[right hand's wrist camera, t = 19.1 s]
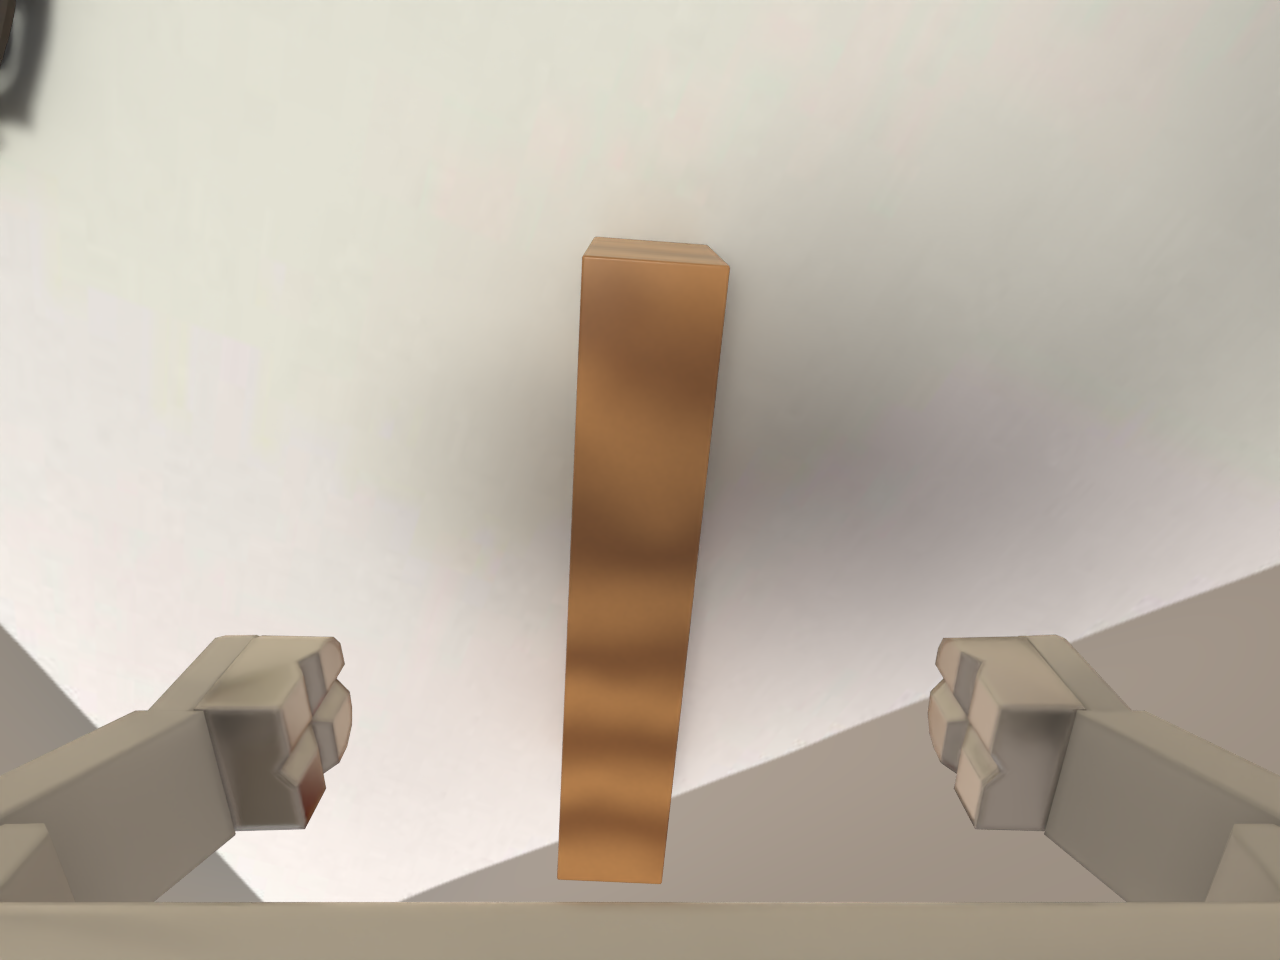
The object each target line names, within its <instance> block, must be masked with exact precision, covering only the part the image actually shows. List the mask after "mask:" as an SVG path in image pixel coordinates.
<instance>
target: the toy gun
mask: <svg viewBox="0 0 1280 960" xmlns="http://www.w3.org/2000/svg"><path fill="white" fill-rule="evenodd" d="M15 4H16V0H0V66H1V62H2V59H3V55H4V52H5V48H6V45H7V42H8V38H9V35H10V30H11V26H12V22H13V16H14V11H15Z"/></svg>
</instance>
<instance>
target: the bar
mask: <svg viewBox="0 0 1280 960" xmlns="http://www.w3.org/2000/svg"><path fill="white" fill-rule="evenodd" d="M729 271H730V267H729V265H728V264H726V263H725V262H724V261H723V260H722V259H721V258H720V257H719V256H718V255H717V254H716V253H715V252H714V251H713V250H712V249H711V248H710V247H709V246H707V245H700V244H687V243H673V242H659V241H646V240H632V239H618V238H604V237H595V238H594V239H593V241H592V242H591V244H590V245H589V247H588V249H587V250H586V252H585V253H584V255H583V257H582V276H581V301H580V326H579V351H578V375H577V400H576V425H575V450H574V475H573V499H572V524H571V549H570V574H569V598H568V623H567V648H566V673H565V698H564V722H563V747H562V772H561V797H560V822H559V846H558V871H557V878H558V879H559V880H581V881H603V882H626V883H648V884H661V883H662V875H663V866H664V857H665V848H666V839H667V830H668V821H669V812H670V803H671V794H672V785H673V776H674V767H675V758H676V749H677V740H678V731H679V722H680V713H681V704H682V695H683V686H684V677H685V668H686V659H687V650H688V641H689V632H690V623H691V614H692V605H693V596H694V587H695V578H696V569H697V560H698V551H699V542H700V533H701V524H702V515H703V506H704V497H705V488H706V479H707V470H708V461H709V452H710V443H711V434H712V425H713V416H714V407H715V398H716V389H717V380H718V371H719V362H720V353H721V344H722V335H723V326H724V317H725V308H726V298H727V289H728V280H729Z"/></svg>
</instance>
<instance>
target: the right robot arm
mask: <svg viewBox="0 0 1280 960" xmlns="http://www.w3.org/2000/svg"><path fill="white" fill-rule="evenodd" d="M344 665H345V663H344V658H343V653H342V649H341V644H340V642H338V641H337V640H336V639H335V638H334V637H316V636H267V635H262V636H258V635H225V636H221V637H217V638H215V639H214V640H213V641H212V642H211V643H210V644H209V645H208V646H207V647H206V649H205V650H204V651H203V652H202V653H201V654H200V655H199V656H198V657H197V658H196V659H195V660H194V661H193V663H192V664H191V665H190V666H189V667H188V668H187V669H186V670H185V671H184V672H183V673H182V674H181V675H180V677H179V678H178V679H177V680H176V681H175V682H174V683H173V684H172V685H171V686H170V687H169V688H168V689H167V690H166V692H165V693H164V694H163V695H162V696H161V697H160V698H159V699H158V700H157V701H156V702H155V703H154V704H153V706H152V707H151V708H150V709H149V710H148V711H134V712H132V713H129V714H127V715H125V716H123V717H121V718H119V719H117V720H115V721H113V722H111V723H109V724H107V725H104V726H102V727H100V728H98V729H96V730H94V731H92V732H90V733H88V734H86V735H84V736H82V737H79V738H77V739H75V740H73V741H71V742H69V743H67V744H65V745H63V746H61V747H59V748H57V749H55V750H52V751H50V752H48V753H46V754H44V755H42V756H40V757H38V758H36V759H34V760H32V761H29V762H27V763H25V764H23V765H21V766H19V767H17V768H15V769H13V770H11V771H9V772H7V773H4V774H2V775H0V960H1280V776H1279V775H1277V774H1275V773H1273V772H1271V771H1269V770H1267V769H1265V768H1263V767H1261V766H1259V765H1256V764H1254V763H1252V762H1250V761H1248V760H1246V759H1244V758H1242V757H1240V756H1238V755H1236V754H1234V753H1232V752H1229V751H1227V750H1225V749H1223V748H1221V747H1219V746H1217V745H1215V744H1213V743H1211V742H1209V741H1207V740H1204V739H1202V738H1200V737H1198V736H1196V735H1194V734H1192V733H1190V732H1188V731H1186V730H1184V729H1182V728H1180V727H1178V726H1175V725H1173V724H1171V723H1169V722H1167V721H1165V720H1163V719H1161V718H1159V717H1157V716H1155V715H1153V714H1151V713H1148V712H1146V711H1132V710H1131V709H1130V708H1129V707H1128V706H1127V704H1126V703H1125V702H1124V701H1123V700H1122V699H1121V698H1120V697H1119V696H1118V695H1117V694H1116V693H1115V692H1114V690H1113V689H1112V688H1111V687H1110V686H1109V685H1108V684H1107V683H1106V682H1105V681H1104V680H1103V679H1102V678H1101V676H1100V675H1099V674H1098V673H1097V672H1096V671H1095V670H1094V669H1093V668H1092V667H1091V666H1090V665H1089V664H1088V663H1087V661H1086V660H1085V659H1084V658H1083V657H1082V656H1081V655H1080V654H1079V653H1078V652H1077V651H1076V650H1075V648H1074V647H1073V646H1072V645H1071V644H1070V643H1069V642H1068V641H1067V640H1066V639H1065V638H1062V637H1060V636H1058V635H1032V636H1018V637H968V638H943V640H942V642H941V644H940V646H939V648H938V652H937V657H936V663H935V665H936V666H937V668H938V670H939V671H940V673H941V675H942V676H943V678H944V679H943V680H942V681H941V682H940V683H939V684H938V685H937V686H936V687H935V688H934V689H933V690H932V691H931V692H930V698H929V706H928V723H929V734H930V737H931V741H932V744H933V747H934V750H935V752H936V754H937V756H938V758H939V760H940V762H941V763H942V764H943V765H945V766H946V767H948V768H949V769H951V770H952V771H954V772H955V773H956V774H957V775H956V780H955V786H954V789H955V791H956V793H957V795H958V797H959V799H960V801H961V803H962V805H963V807H964V809H965V810H966V812H967V814H968V816H969V818H970V820H971V822H972V824H973V826H974V828H975V829H987V830H1024V831H1045V833H1044V834H1045V835H1046V836H1047V837H1048V838H1049V839H1051V840H1052V841H1053V842H1054V843H1055V844H1057V845H1058V846H1059V847H1060V848H1062V849H1063V850H1064V851H1065V852H1066V853H1068V854H1069V855H1070V856H1071V857H1073V858H1074V859H1075V860H1076V861H1077V862H1079V863H1080V864H1081V865H1082V866H1083V867H1085V868H1086V869H1087V870H1088V871H1090V872H1091V873H1092V874H1093V875H1094V876H1096V877H1097V878H1098V879H1099V880H1101V881H1102V882H1103V883H1104V884H1105V885H1107V886H1108V887H1109V888H1110V889H1112V890H1113V891H1114V892H1115V893H1116V894H1118V895H1119V896H1120V897H1121V898H1122V899H1124V900H1125V901H1126V902H154V901H155V900H157V899H158V898H159V897H160V896H161V895H163V894H164V893H165V892H166V891H168V890H169V889H170V888H171V887H172V886H174V885H175V884H176V883H177V882H179V881H180V880H181V879H182V878H183V877H185V876H186V875H187V874H188V873H190V872H191V871H192V870H193V869H194V868H195V867H197V866H198V865H199V864H200V863H202V862H203V861H204V860H205V859H207V858H208V857H209V856H210V855H211V854H213V853H214V852H215V851H216V850H218V849H219V848H220V847H221V846H222V845H224V844H225V843H226V842H227V841H229V840H230V839H231V838H232V837H233V836H235V834H236V833H235V831H256V830H291V829H305V828H306V826H307V824H308V822H309V820H310V818H311V816H312V814H313V812H314V811H315V809H316V807H317V805H318V803H319V801H320V799H321V797H322V795H323V793H324V791H325V789H326V786H325V780H324V775H323V774H324V773H325V772H326V771H328V770H329V769H331V768H332V767H334V766H335V765H337V764H338V763H339V762H340V760H341V758H342V756H343V754H344V752H345V750H346V748H347V745H348V740H349V736H350V731H351V727H352V704H351V697H350V692H349V691H348V690H347V689H346V688H345V687H344V686H343V685H342V684H341V683H340V682H339V681H338V680H337V679H336V678H337V676H338V675H339V673H340V671H341V670H342V668H343V666H344Z"/></svg>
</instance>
